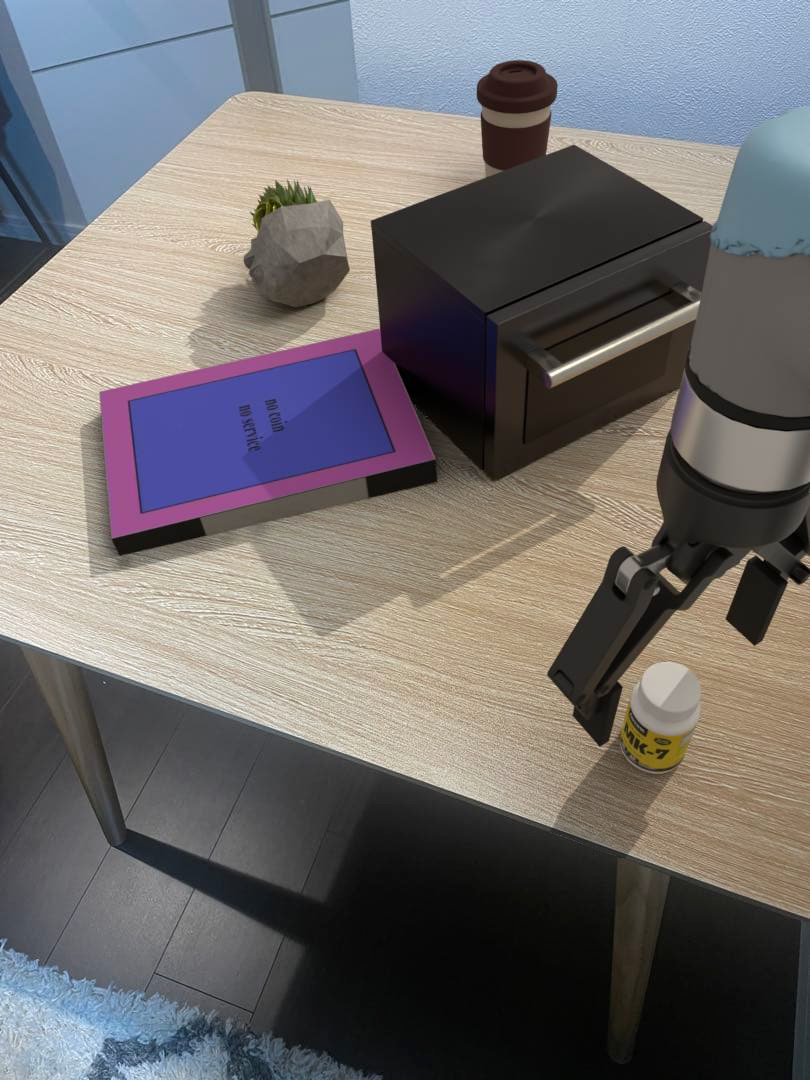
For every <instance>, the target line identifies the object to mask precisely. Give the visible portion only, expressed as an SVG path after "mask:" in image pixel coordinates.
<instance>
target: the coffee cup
mask: <svg viewBox="0 0 810 1080" xmlns="http://www.w3.org/2000/svg"><path fill="white" fill-rule="evenodd" d="M558 85H559V84H558V81H557V79H556V78H555V77H554V76H553V75H552V74H549V73H548V72H547V71H546V69H545V67H544V66H543V65H541V64H540V63H538V62H534V61H531V60H525V59H523V60H522V59H514V60H507V61H503V62H499V63H497V64H495V65H494V66H493V67H491V68H490V70H489V72H488V73H487V74H486V75H484V76H482V77H481V78H479V80H478V82H477V84H476V100H477V102H478V103H479V104H480V105H481V112H480V130H481V132H480V133H481V147H482V150H481V151H482V159H483V161H484V172H485V176H484V177H485V178H486V177H489V176H491V175H494V174H497V173H499V172H502V171H505V170H507V169H510V168H513V167H515V166H518V165H521V164H523V163H526V162H529V161H531V160H534V159H537V158H539V157H542V156H545V155H547V151H548V143H549V136H550V128H551V121H552V110H551V108H552V105H553V104H554V103H555V101H556V100H557V97H558V87H559V86H558Z"/></svg>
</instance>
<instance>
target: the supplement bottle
mask: <svg viewBox="0 0 810 1080" xmlns="http://www.w3.org/2000/svg"><path fill="white" fill-rule="evenodd" d="M701 697H702V686H701V682H700V680H699V678H698V677H697V675H696V674H695V673H694V672H693V671H692V670H691V669H689V668H688V667H686V666H684V665H683V664H680V663H677V662H674V661H673V662H671V661H661V662H656V663H654V664H652V665H650V666H649V667H647V668H646V669H645V671H644V672H643V673H642V676H641V678H640V680H639V681H638V682H637V683H636V685H634V687H633V689H632V690H631V693H630V696H629V700H628V704H627V707H626V711H625V715H624V718H623V721H622V722H623V723H622V726H621V730H620V733H619V746H620V750H621V752H622V755H623V756H624V758H625V759H626V760H627V762H628V763H630V764H631V765H632V766H633V767H635V768H636V769H637V770H640V771H642V772H645V773H648V774H655V775H662V774H666V773H669V772H672V771H673V770H675V769H677V768H678V767H679V766H680V764H681V763H682V762H683V761H684V758H685V755H686V753H687V752H688V748H689V745H690V743H691V740H692V738H693V735H694V732H695V730H696V727H697V725H698V723H699V720H700V717H701V703H700V700H701Z"/></svg>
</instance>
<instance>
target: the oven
mask: <svg viewBox="0 0 810 1080" xmlns="http://www.w3.org/2000/svg"><path fill="white" fill-rule="evenodd" d="M703 221H704V217H702V216H701V215H698V214H697V213H696V212H693V211H692V210H690V209H688V208H686V207H685V206H683V205H681V204H679V203H678V202H675V200H672V199H670V198H669V197H667V196H665V195H664V194H662V193H660V192H658V191H657V190H655V189H654V188H652V187H649V186H648V185H646V184H645V183H642V182H641V181H639V180H638V179H635V178H634V177H632V176H630V175H629V174H627V173H625V172H624V171H622V170H619V169H618V168H616V167H615V166H613V165H611V164H609V163H608V162H606V161H604V160H602V159H601V158H599V157H597V156H596V155H593V154H592V153H590V152H588V151H586V150H585V149H583V148H581V147H580V146H578V145H576V144H572V145H569V146H567V147H563V148H561V149H558V150H555V151H553V152H551V153H546V155H545V156H542V157H539V158H537V159H534V160H531V161H529V162H526V163H523V164H521V165H518V166H515V167H513V168H510V169H507V170H505V171H502V172H499V173H497V174H494V175H491V176H489V177H486V176H485V177H484V178H480V179H478V180H476V181H473V182H470V183H468V184H464V185H462V186H459V187H456V188H454V189H451V190H448V191H446V192H443V193H440V194H438V195H435V196H432V197H430V198H427V199H425V200H422V201H419V202H416V203H413V204H411V205H409V206H405V207H403V208H401V209H398V210H395V211H392V212H390V213H387V214H385V215H381V216H379V217H377V218H373V219H371V220H370V228H371V229H370V230H371V239H372V250H373V263H374V264H373V265H374V274H375V285H376V297H377V309H378V321H379V322H378V323H379V328H380V334H381V345H382V352H383V353H384V354H385V355H386V356H387V357H389V358H390V359H391V360H392V361H393V362H394V363H395V365H396V367H397V370H398V372H399V374H400V377H401V379H402V381H403V384H404V386H405V388H406V391H407V393H408V395H409V398H410V400H411V402H412V405H413V406H414V407H416V409H418V411H420V412H421V413H422V414H423V415H424V416H425V417H426V418H427V419H428V420H429V421H430V422H431V423H432V424H433V425H434V426H435V427H436V428H437V429H438V430H439V431H440V432H441V433H442V434H443V435H445V437H446V438H447V439H449V441H451V443H452V444H453V445H454V446H456V448H457V449H459V451H461V452H462V454H463V455H465V456H466V457H467V458H468V460H470V462H471V463H473V464H474V465H475V466H476V467H477V468H478V469H479V470H480V471H481V472H484V443H485V376H486V316H487V315H489V314H491V313H494V312H496V311H498V310H500V309H503V308H505V307H507V306H510V305H512V304H514V303H517V302H519V301H521V300H523V299H526V298H528V297H530V296H533V295H535V294H537V293H540V292H542V291H544V290H547V289H549V288H551V287H553V286H556V285H558V284H560V283H563V282H565V281H567V280H570V279H572V278H574V277H576V276H579V275H581V274H583V273H586V272H588V271H590V270H593V269H595V268H597V267H599V266H602V265H604V264H606V263H609V262H611V261H613V260H616V259H618V258H620V257H623V256H625V255H627V254H629V253H632V252H634V251H636V250H639V249H641V248H643V247H646V246H648V245H650V244H652V243H655V242H657V241H659V240H662V239H664V238H666V237H669V236H671V235H673V234H676V233H678V232H680V231H682V230H685V229H687V228H689V227H692V226H694V225H696V224H699V223H701V222H703Z"/></svg>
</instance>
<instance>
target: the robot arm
mask: <svg viewBox="0 0 810 1080" xmlns="http://www.w3.org/2000/svg"><path fill="white" fill-rule="evenodd" d="M712 225H713V227H712V231H711V234H710V238H711V246H710V251H709V257H708V262H707V267H706V273H705V278H704V284H703V289H702V294H701V299H700V304H699V308H698V313H697V318H696V322H695V327H694V332H693V336H692V340H691V344H690V345H689V346H688V354H687V358H686V362H685V368H684V372H683V376H682V380H681V384H680V387H679V388H678V392H677V397H676V401H675V404H674V408H673V413H672V417H671V422H670V427H669V430H668V432H667V435H666V439H665V443H664V446H663V451H662V455H661V459H660V463H659V467H658V472H657V476H656V483H655V484H656V488H655V489H656V494H657V498H658V502H659V506H660V510H661V515H662V519H663V522H662V524H661V526H660V528H659V530H658V531H657V533H656V534H655V536H654V537H653V539H652V542H651V545H650V548H648V549H646V550H644V551H642V552H640V553H638V554H635V553H634V552H632V551H631V550H630V549H629V548H628V547H627V546H620V547H618V548H617V549H616V550H614V551H613V552H612V554H611V555H610V557H609V558H608V562H607V565H606V568H605V571H604V575H603V577H602V581H601V582H600V584H599V585H598V587H597V589H596V590H595V592H594V594H593V596H592V597H591V599H590V601H589V602H588V604H587V606H586V607H585V609H584V611H583V613H581V615H580V617H579V619H578V620H577V622H576V624H575V625H574V626H573V629H572V631H571V632H570V634H569V636H568V637H567V639H566V641H565V642H564V644H563V645H562V647H561V649H560V651H559V653H558V654H557V656H556V657H555V659H554V661H553V662H552V664H551V666H550V667H549V669H548V670H547V672H546V676H547V677H548V678H549V680H550V681H551V682H552V683H553V684H554V686H555V687H556V688H557V689H558V690H559V691H560V692H561V694H563V696H565V698H566V699H567V700H568V702H570V703H571V704H572V705H573V711H572V717H573V718H574V719H575V720H576V722H577V723H578V724H579V725H580V726H581V727H582V728H583V730H584V731H585V732H586V733H587V734H588V736H590V738H591V739H592V740H593V741H594V743H595V744H596V745H597V746H598V747H599V748H600V747H601V748H602V746H604V745H605V744H607V743H608V742H609V741H610V738H611V734H612V730H613V728H614V723H615V719H616V715H617V711H618V708H619V703H620V700H621V696H622V693H623V688H624V686H623V685H622V684H621V683H620V682H619V680H620V679H621V678H622V676H623V675H624V674H625V673H626V672H627V671H628V669H629V668H630V667H631V666H632V664H633V663H634V662H635V661H636V660H637V659H638V657H639V656H640V655H641V654H642V653H643V651H644V650H645V649H646V647H647V646H648V645H649V644H650V643H651V642H652V640H653V639H654V638H655V637H656V636H657V634H658V633H659V632H660V631H661V630H662V629H663V627H664V626H665V625H666V624H667V622H668V621H669V620H670V619H671V618H672V616H673V615H674V614H675V613H676V612H677V611H681V612H682V611H684V612H685V611H688V610H689V609H690V608H691V607H692V606H693V605H694V604H695V602H696V601H697V600H698V599H699V598H700V597H701V595H702V594H703V593H704V592H705V591H706V589H707V588H708V587H709V586H710V584H712V582H713V581H714V580H717V579H720V578H722V577H723V576H724V575H725V574H726V573H727V572H728V571H729V570H732V569H733V568H734V567H736V566H738V565H739V564H740V563H741V561H742V560H743V559H745V557H747V555H749V554H750V552H751V551H752V552H753V553H755V554H756V555H754V556H752V557H750V558H749V559H747V561H746V563H745V566H744V568H743V571H742V573H741V577H740V579H739V582H738V584H737V587H736V590H735V592H734V595H733V598H732V601H731V603H730V606H729V608H728V611H727V613H726V616H725V621H726V622H728V623H729V625H730V626H732V627H733V628H734V629H735V630H736V631H737V632H738V633H739V634H741V635H742V636H743V637H744V638H745V639H746V640H747V641H748V642H749V643H750V644H751V645H753V647H755V646H757V645H759V644H760V643H762V642H763V641H764V638H765V636H766V634H767V632H768V629H769V627H770V625H771V622H772V621H773V618H774V616H775V614H776V612H777V609H778V607H779V604H780V602H781V600H782V598H783V596H784V594H785V591H786V589H787V587H788V585H789V579H790V580H791V581H793V582H794V583H795V584H796V585H798V586H801V585H803V584H804V583H805V582H807V581H808V580H809V579H810V568H809V567H808V566H807V565H806V564H805V563H804V562H803V561H801V560H802V559H803V558H804V557H805V556H807V555H808V556H809V557H810V105H804V106H800V107H799V106H798V107H796V108H792V109H788V110H786V111H782V112H781V113H780V114H779V115H778V116H776V117H774V118H770V119H767V120H765V121H763V122H762V123H760V124H759V125H758V126H757V127H756V128H754V129H752V131H751V132H750V133H749V134H748V135H747V137H746V138H745V139H744V141H743V142H742V144H741V145H740V147H739V150H738V152H737V155H736V158H735V161H734V163H733V167H732V171H731V174H730V177H729V181H728V184H727V187H726V191H725V194H724V197H723V200H722V202H721V207H720V210H719V213H718V216H717V219H716V221H715V222H713V224H712ZM761 558H762V559H761ZM665 569H666V570H667V571H669V573H671V574H672V575H673V576H674V577H676V578H677V579H678V580H679V581H681V583H683V584H684V585H685V586H684V587H683V589H682V590H681V591H680V590H678V588H677V587H675V586H674V585H673V584H672V583H671V582H670V581H669V580H668V579H666V578H665V577H664V575H662V574H661V572H662V571H663V570H665Z"/></svg>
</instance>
